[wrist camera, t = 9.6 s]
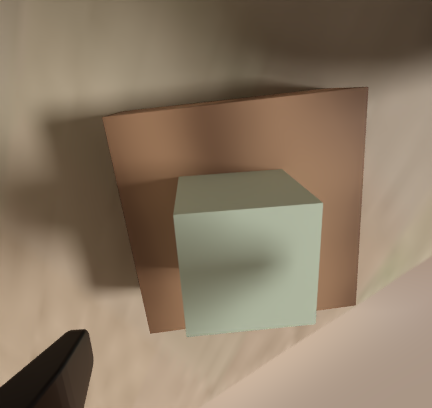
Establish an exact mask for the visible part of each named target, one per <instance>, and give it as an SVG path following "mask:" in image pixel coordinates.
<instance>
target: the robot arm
mask: <svg viewBox="0 0 432 408" xmlns="http://www.w3.org/2000/svg"><path fill="white" fill-rule="evenodd" d="M92 368H93V352H92V347H91V342H90V337H89V333H88V331H87V330H85V329H80V330H70V331H68V332H66V333H65V334H64V335H63V336H61V337H60V338H59V339H58V340H57V341H55V342H54V343H53V344H52V345H51V346H49V347H48V348H47V349H46V350H45V351H43V352H42V353H41V354H40V355H39V356H37V357H36V358H35V359H34V360H33V361H31V362H30V363H29V364H28V365H27V366H25V367H24V368H23V369H22V370H21V371H19V372H18V373H17V374H16V375H15V376H13V377H12V378H11V379H10V380H8V381H7V382H6V383H5V384H4V385H2V386H1V387H0V408H84V404H85V400H86V395H87V391H88V386H89V382H90V377H91V372H92Z"/></svg>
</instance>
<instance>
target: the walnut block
mask: <svg viewBox="0 0 432 408" xmlns="http://www.w3.org/2000/svg"><path fill="white" fill-rule="evenodd" d="M367 101H368V87H353V88H326V89H317V90H308V91H299V92H290V93H282V94H273V95H264V96H255V97H246V98H238V99H229V100H220V101H211V102H202V103H193V104H185V105H176V106H167V107H158V108H149V109H141V110H132V111H123V112H120V113H116V114H112V115H109V116H105V117H102V119H103V123H104V128H105V132H106V137H107V141H108V146H109V150H110V155H111V159H112V164H113V168H114V173H115V177H116V182H117V186H118V191H119V195H120V200H121V204H122V209H123V213H124V218H125V222H126V227H127V231H128V235H129V240H130V244H131V249H132V253H133V258H134V262H135V267H136V271H137V276H138V280H139V285H140V289H141V294H142V298H143V303H144V307H145V312H146V316H147V321H148V325H149V330H150V334H151V333H159V332H166V331H173V330H180V329H186V327H185V318H184V309H183V300H182V290H181V281H180V272H179V263H178V254H177V245H176V236H175V227H174V218H173V213H174V206H175V199H176V192H177V185H178V179H179V177H182V176H195V175H209V174H223V173H236V172H250V171H264V170H277V169H283V170H284V171H285V172H286V173H287V174H289V175H290V176H291V177H292V178H293V179H295V180H296V181H297V182H298V183H300V184H301V185H302V186H303V187H304V188H306V189H307V190H308V191H309V192H310V193H312V194H313V195H314V196H315V197H317V198H318V199H319V200H320V201H321V202H323V213H322V229H321V245H320V261H319V277H318V293H317V309H316V311H317V310H325V309H332V308H339V307H346V306H354V305H356V290H357V273H358V255H359V238H360V221H361V204H362V187H363V169H364V152H365V135H366V118H367Z"/></svg>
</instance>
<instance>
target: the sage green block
mask: <svg viewBox="0 0 432 408" xmlns="http://www.w3.org/2000/svg"><path fill="white" fill-rule="evenodd" d="M322 213H323V202H321V201H320V200H319V199H318V198H317V197H315V196H314V195H313V194H312V193H310V192H309V191H308V190H307V189H306V188H304V187H303V186H302V185H301V184H300V183H298V182H297V181H296V180H295V179H293V178H292V177H291V176H290V175H289V174H287V173H286V172H285V171H284V170H283V169H277V170H264V171H250V172H236V173H223V174H209V175H195V176H182V177H179V179H178V185H177V192H176V199H175V206H174V213H173V218H174V227H175V236H176V245H177V254H178V263H179V272H180V281H181V290H182V300H183V309H184V318H185V327H186V336H187V337H193V336H203V335H213V334H223V333H233V332H243V331H253V330H263V329H273V328H282V327H292V326H302V325H312V324H316V309H317V293H318V277H319V261H320V245H321V229H322Z"/></svg>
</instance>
